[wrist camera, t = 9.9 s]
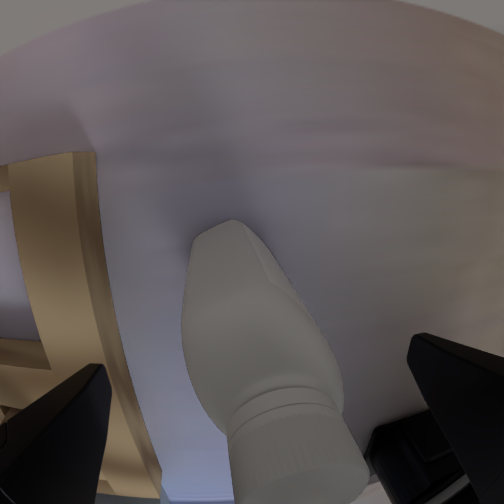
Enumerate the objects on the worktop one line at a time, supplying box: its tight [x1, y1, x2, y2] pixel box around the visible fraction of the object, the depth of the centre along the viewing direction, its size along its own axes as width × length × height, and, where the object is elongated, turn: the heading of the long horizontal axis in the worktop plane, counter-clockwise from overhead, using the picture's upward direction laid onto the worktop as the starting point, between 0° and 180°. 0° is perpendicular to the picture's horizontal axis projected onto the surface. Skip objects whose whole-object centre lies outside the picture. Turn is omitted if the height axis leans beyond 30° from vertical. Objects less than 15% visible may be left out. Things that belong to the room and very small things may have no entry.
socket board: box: [0, 152, 162, 499], centre depth 13 cm, size 20×12×2 cm, turn 1°
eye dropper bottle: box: [181, 220, 370, 504], centre depth 9 cm, size 4×6×12 cm
